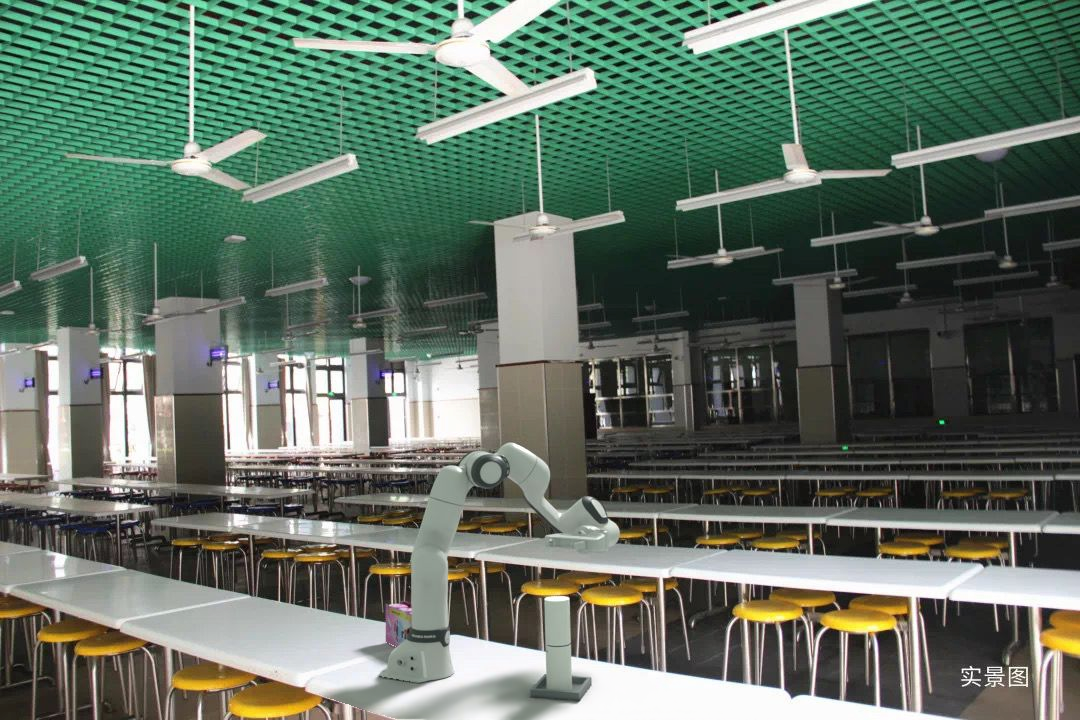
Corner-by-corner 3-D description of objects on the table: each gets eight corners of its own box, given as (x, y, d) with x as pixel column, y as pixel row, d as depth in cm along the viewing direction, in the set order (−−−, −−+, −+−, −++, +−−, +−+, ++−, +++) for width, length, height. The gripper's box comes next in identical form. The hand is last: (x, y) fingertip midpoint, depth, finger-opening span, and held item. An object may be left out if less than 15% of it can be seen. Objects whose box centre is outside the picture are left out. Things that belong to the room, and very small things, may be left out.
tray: (530, 697, 225) (530, 689, 225) (545, 681, 238) (544, 674, 238) (579, 701, 221) (579, 692, 221) (591, 685, 234) (591, 677, 234)
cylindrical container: (559, 695, 224) (557, 602, 226) (541, 689, 229) (539, 598, 231) (577, 688, 229) (574, 598, 231) (559, 683, 234) (556, 594, 236)
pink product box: (383, 642, 287) (382, 603, 288) (403, 638, 291) (403, 599, 292) (414, 657, 267) (413, 615, 268) (435, 652, 272) (435, 611, 273)
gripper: (559, 527, 266) (533, 532, 255) (612, 531, 254) (587, 537, 243) (559, 547, 266) (533, 553, 255) (612, 552, 254) (588, 558, 243)
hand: (560, 545), depth 249 cm, fingers open, 8 cm apart
